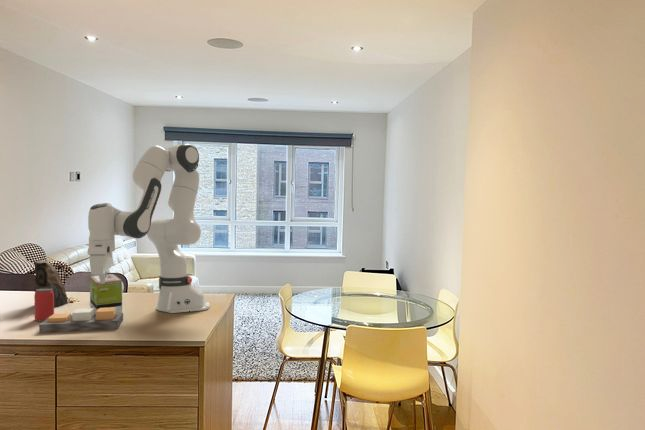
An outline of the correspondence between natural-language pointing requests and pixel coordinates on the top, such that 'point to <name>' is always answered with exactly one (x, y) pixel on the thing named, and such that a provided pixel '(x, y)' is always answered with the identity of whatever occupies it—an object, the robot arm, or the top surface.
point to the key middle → (83, 314)
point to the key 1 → (59, 317)
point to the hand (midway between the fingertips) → (103, 282)
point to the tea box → (106, 293)
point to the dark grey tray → (81, 325)
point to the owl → (50, 281)
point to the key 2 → (106, 313)
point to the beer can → (44, 303)
